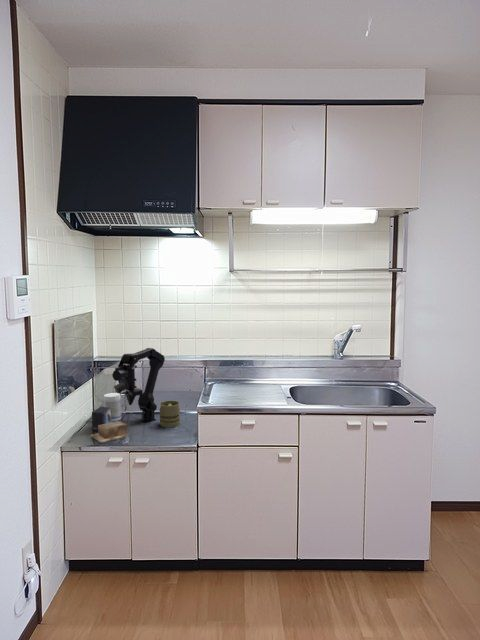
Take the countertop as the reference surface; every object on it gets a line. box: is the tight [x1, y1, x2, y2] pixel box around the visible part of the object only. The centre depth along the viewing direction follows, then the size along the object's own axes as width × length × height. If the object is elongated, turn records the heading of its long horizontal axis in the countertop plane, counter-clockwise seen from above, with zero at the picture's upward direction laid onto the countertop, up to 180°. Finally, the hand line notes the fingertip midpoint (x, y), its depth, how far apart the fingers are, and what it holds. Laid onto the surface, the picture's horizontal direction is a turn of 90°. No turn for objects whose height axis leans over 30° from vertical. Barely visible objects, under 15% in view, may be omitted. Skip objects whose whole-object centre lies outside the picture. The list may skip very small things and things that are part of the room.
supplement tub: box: [103, 392, 122, 422], centre depth 275 cm, size 10×10×15 cm
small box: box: [91, 406, 112, 432], centre depth 260 cm, size 11×6×10 cm, turn 168°
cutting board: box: [90, 432, 127, 444], centre depth 247 cm, size 14×13×1 cm
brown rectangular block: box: [97, 420, 128, 439], centre depth 248 cm, size 5×9×12 cm
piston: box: [159, 400, 181, 428], centre depth 266 cm, size 11×12×11 cm
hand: (130, 405), depth 259 cm, fingers closed
